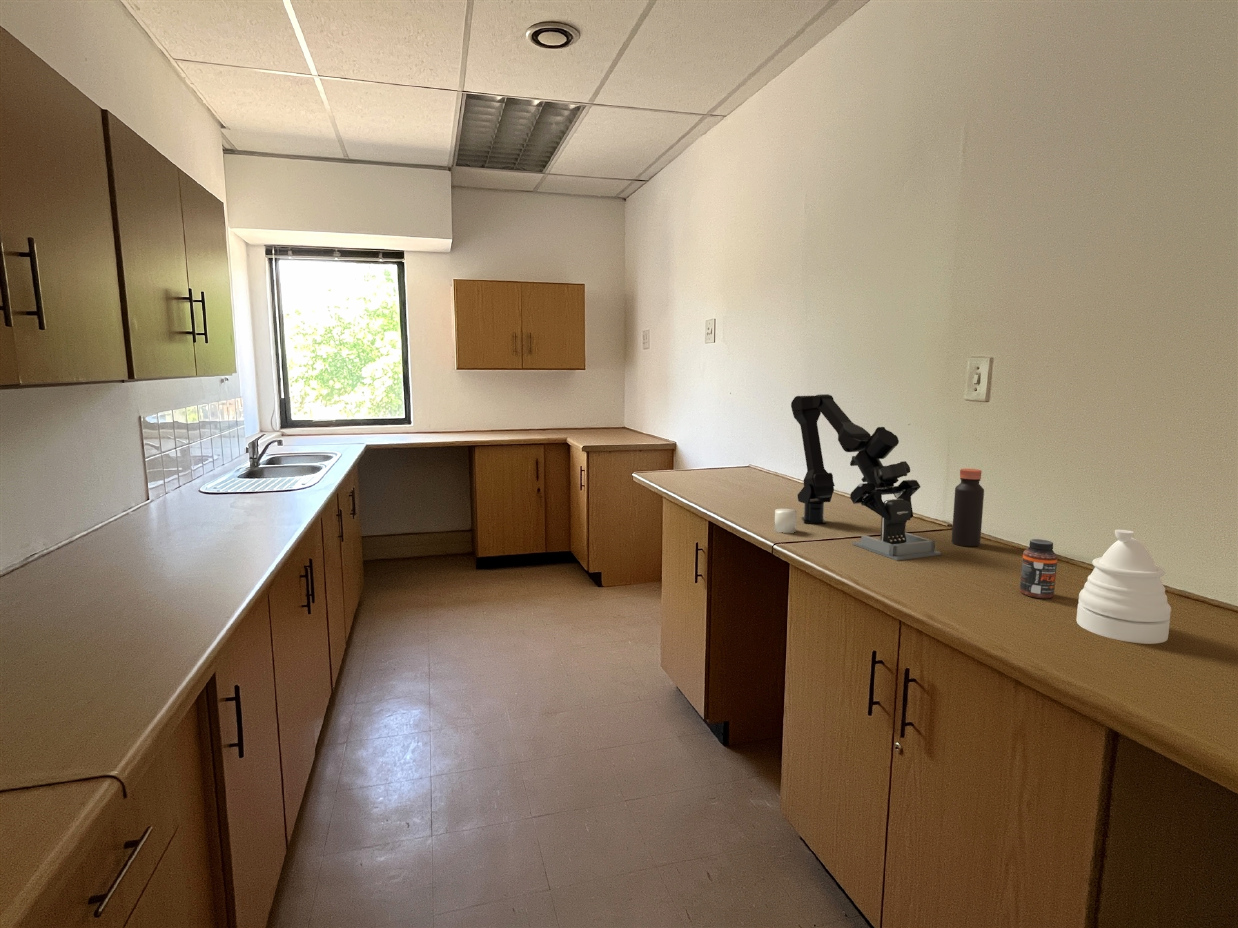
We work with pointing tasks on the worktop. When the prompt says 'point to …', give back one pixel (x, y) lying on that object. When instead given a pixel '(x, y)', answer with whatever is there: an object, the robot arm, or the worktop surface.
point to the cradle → (900, 547)
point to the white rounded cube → (785, 520)
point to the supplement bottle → (1039, 569)
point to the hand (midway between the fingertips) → (900, 518)
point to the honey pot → (1125, 595)
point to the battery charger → (895, 521)
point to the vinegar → (968, 509)
